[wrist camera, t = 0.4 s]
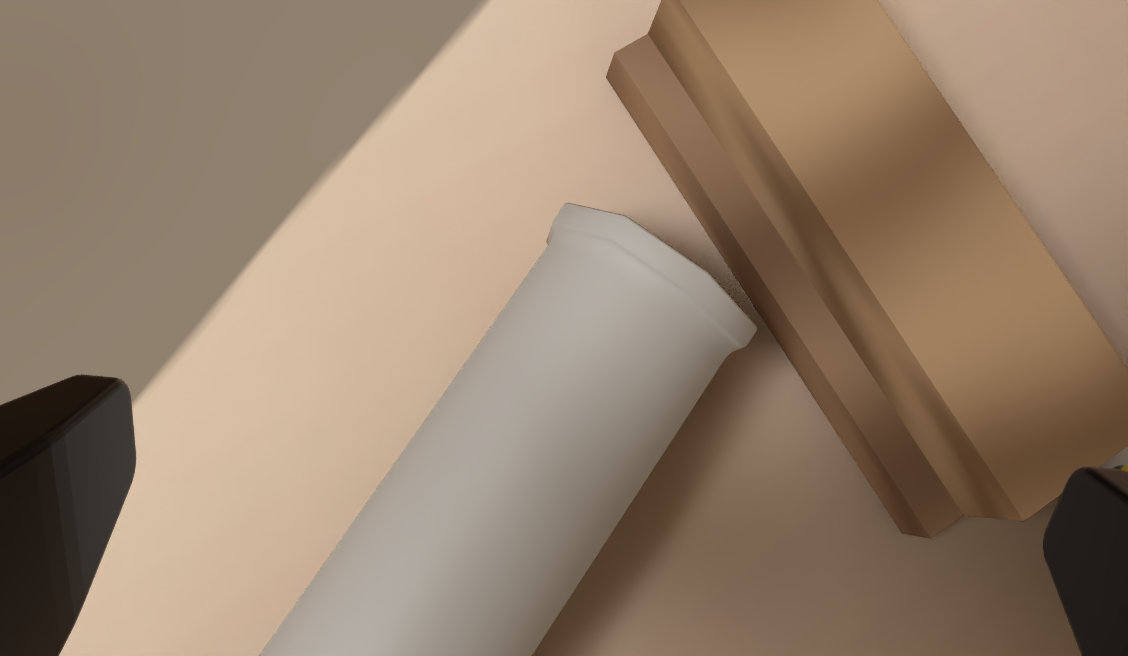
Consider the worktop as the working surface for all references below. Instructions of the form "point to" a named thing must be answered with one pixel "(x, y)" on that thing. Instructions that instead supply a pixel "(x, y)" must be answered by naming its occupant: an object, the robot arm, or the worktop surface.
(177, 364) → the worktop surface
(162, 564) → the worktop surface
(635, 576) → the worktop surface
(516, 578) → the tube
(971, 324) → the ridge
